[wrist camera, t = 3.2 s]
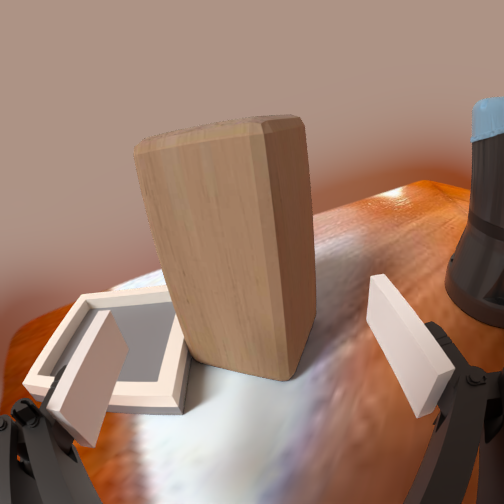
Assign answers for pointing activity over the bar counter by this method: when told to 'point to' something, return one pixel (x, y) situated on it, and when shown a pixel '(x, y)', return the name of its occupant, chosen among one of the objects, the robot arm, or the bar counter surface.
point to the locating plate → (139, 354)
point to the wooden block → (235, 239)
